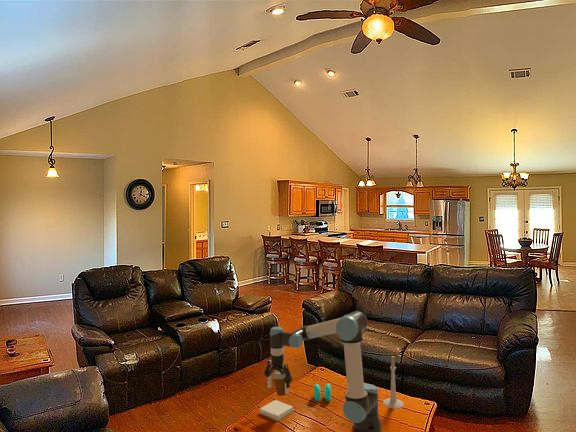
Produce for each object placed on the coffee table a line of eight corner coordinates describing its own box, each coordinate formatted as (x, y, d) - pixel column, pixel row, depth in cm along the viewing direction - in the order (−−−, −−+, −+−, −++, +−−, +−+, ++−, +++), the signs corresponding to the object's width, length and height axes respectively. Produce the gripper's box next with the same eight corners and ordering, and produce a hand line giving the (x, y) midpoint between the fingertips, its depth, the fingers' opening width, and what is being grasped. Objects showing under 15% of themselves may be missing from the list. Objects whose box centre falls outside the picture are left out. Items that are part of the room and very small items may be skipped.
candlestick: (387, 398, 258) (386, 350, 258) (407, 403, 251) (406, 354, 250) (379, 406, 248) (378, 356, 247) (400, 411, 240) (399, 361, 240)
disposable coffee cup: (288, 396, 232) (286, 375, 233) (272, 397, 234) (270, 376, 235) (292, 390, 241) (289, 369, 242) (276, 391, 243) (274, 370, 244)
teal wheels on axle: (331, 404, 251) (331, 387, 251) (315, 404, 251) (314, 387, 251) (330, 396, 261) (329, 381, 261) (314, 396, 261) (314, 381, 261)
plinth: (293, 411, 242) (293, 406, 242) (277, 421, 231) (277, 416, 231) (275, 404, 251) (275, 399, 251) (259, 413, 240) (259, 408, 240)
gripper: (297, 356, 235) (298, 393, 235) (266, 348, 251) (267, 383, 251) (289, 360, 229) (290, 398, 229) (257, 351, 245) (258, 387, 245)
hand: (278, 390), depth 240 cm, fingers open, 13 cm apart
